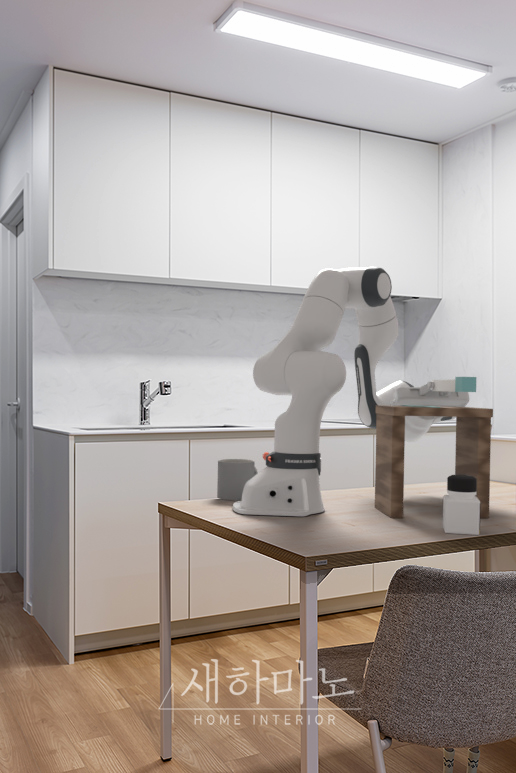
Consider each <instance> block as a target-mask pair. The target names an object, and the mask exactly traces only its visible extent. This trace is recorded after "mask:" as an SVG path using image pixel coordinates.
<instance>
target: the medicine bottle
mask: <svg viewBox="0 0 516 773" xmlns="http://www.w3.org/2000/svg"><path fill="white" fill-rule="evenodd" d="M446 480H447V482H446V493H447V494H444V495H443V496H442V497H443V501H442V502H443V505H442V507H443V508H442V528H443V530H444V533H445V534H450V535H451V534H453V535H455V534H456V535H470V536H472V535H473V536H479V535H481V518H480V506H481V503H480V501H479V499H478V498H477V497H476V496H475V495H476V488H477V479H476V478H475V477H473V476H470V475H455V474H451V475H449V476H448V477H447V479H446Z"/></svg>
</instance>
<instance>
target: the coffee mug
mask: <svg viewBox="0 0 516 773" xmlns="http://www.w3.org/2000/svg"><path fill="white" fill-rule="evenodd" d="M258 473H259V472H258V469H257V467H256V466H255V460H254V459H248V458H247V459H246V458H221V459H218V460H217V488H216V489H217V490H216V491H217V492H216V493H217V495H216V496H217V499H219V500H223V501H235V502H238V501H241V499H242V493H243V489H244V486H245V484H246V482H247V481H248V480H250V479H251V478H252V477H254V476H255V475H256V474H258Z"/></svg>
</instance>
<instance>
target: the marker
mask: <svg viewBox="0 0 516 773" xmlns="http://www.w3.org/2000/svg"><path fill="white" fill-rule="evenodd" d="M431 382H434V385H435V387H434V388H433V390H432V391H442V392H468V393H477V376H455V379H454V378H453V379H432V380H431Z"/></svg>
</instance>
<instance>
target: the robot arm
mask: <svg viewBox="0 0 516 773" xmlns="http://www.w3.org/2000/svg"><path fill="white" fill-rule="evenodd" d="M391 294H392V280H391V276H390V275H389V274H388V272H387V271H386V270H385V269H384V268H382V267H379V266H369V267H368V266H367V267H345V268H340V269H333V268H324V269H321V270H320V271H319V272H317V273H316V275H315V276H314V278H313V279H312V281H311V283H310V284H309V285H308V288H307V290H306V291H305V294H304V295H303V299H302V300H301V304H300V306H299V308H298V311H297V313H296V314H295V315H296V316H295V318H294V320H293V322H292V325H291V326H290V328H289V329H288V330H287V332H286V333H285V334H284V336H283V337H282V338H281V339H280V340H279V342H278V343H277V344H275V345H274V347H273V348H271V349H270V350H269V351H268V352H266V353H264V354H263V355H261V356H259V357H258V358H257V360H256V361H255V363H254V364H253V369H252V377H253V382H254V384H255V386H256V387H257V388H258V389H259V390H260V391H262V392H263V393H267V394H272V395H275V396H291V399H290V400H291V401H290V404H289V405H288V408H287V409H286V410H285V411H284V412H283V413H281V414H280V415H278V416H277V417H276V420H275V422H274V442H273V443H274V444H273V445H274V448H273V449H274V450H273V451H272V452H270V453H269V452H268V451H267V452H263V453H262V459H263V460H264V461H265V466H266V467H264V468H263V469H262V470H260V471H259V472H258V474H256V475H255V476H254V477H252V478H251V479H250V480H248V481H247V482H246V484H245V486H244V489H243V493H242V499H241V501H235V502H233V504H232V510H233V512H235V513H236V514H237V513H238V514H241V515H254V516H255V515H256V516H257V515H259V516H279V517H280V516H283V517H286V516H287V517H307V516H309V515H314V514H319V513H323V512H325V507H324V502H323V498H322V492H321V481H320V479H321V478H320V476H321V472H322V457H321V452H320V437H321V424H322V420H323V419H322V418H323V415H324V413H325V410H326V407H327V406H328V404H329V403H330V401H331V399H333V397H334V396H335V395H336V394H338V393H339V392H340V391H341V390H342V389H343V387H344V385H345V382H346V380H347V368H346V365H345V362H344V360H343V359H342V358H341V356H339V355H338V354H336V353H332V352H328V351H323V350H324V349H326V348H327V347H329V346H330V345H331V344H332V343H334V341H335V338H336V335H337V332H338V329H339V328H340V326H341V322H342V319H343V316H344V313H345V311H346V310H354V311H355V317H356V321H357V325H358V332H359V334H358V342H357V345H356V347H355V348H354V356H353V357H354V358H353V359H354V367H355V369H354V370H355V376H356V377H355V379H356V387H357V397H358V399H357V401H358V402H357V413H358V414H357V415H358V418H359V420H360V421H361V423H362V424H363V425H364V427H365V426H366V427H367V428H369V429H371V430H372V429H373V430H376V417H377V413H376V405H390V406H402V405H422V406H444V407H467V405H468V404H469V402H470V394H469V393H470V392H442V391H432V390H433V388H434V387H435V385H434V382H432V381H427V383H425V384H423V385H421V386H420V387H419V386H418V387H415V386H414V385H413V384H411V383H409V382H407V381H404V380H401V379H400V380H399V379H398V380H395V382H392V383H390V384H388V385H387V386H385V387H384V388H382V389H380V390H378V391H377V383H376V382H377V381H376V374H375V372H376V368H377V365H378V363H379V361H380V360H381V359H382V357H383V356H384V355H385V354H386V352H388V350H390V348H391V347H392V346H394V344H395V342H396V341H397V339H398V337H399V333H400V326H399V320H398V316H397V312H396V309H395V306H394V302H393V300H392V297H391ZM451 420H456V417H446V416H405V442H406V443H416V442H418V441H420V440H421V439H423V438H424V436H425V435H426V434H427V433H428V432H429V431H430V428H431V426H432V425H433V424H437V423H441V422H445V421H451Z"/></svg>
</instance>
